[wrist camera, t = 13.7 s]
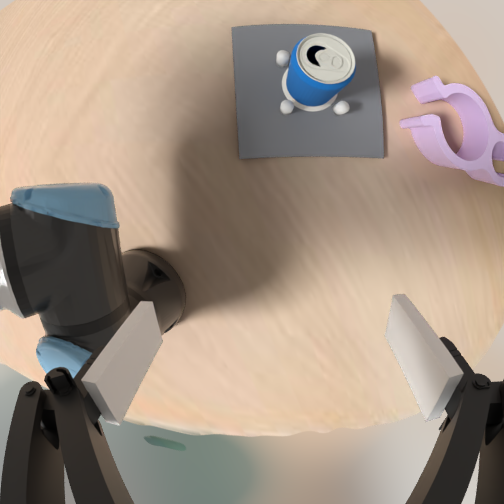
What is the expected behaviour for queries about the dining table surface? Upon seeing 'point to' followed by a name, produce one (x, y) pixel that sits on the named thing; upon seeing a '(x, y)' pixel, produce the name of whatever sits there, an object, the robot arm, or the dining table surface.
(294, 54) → the beverage can
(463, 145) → the clip
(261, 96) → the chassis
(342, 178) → the dining table surface
